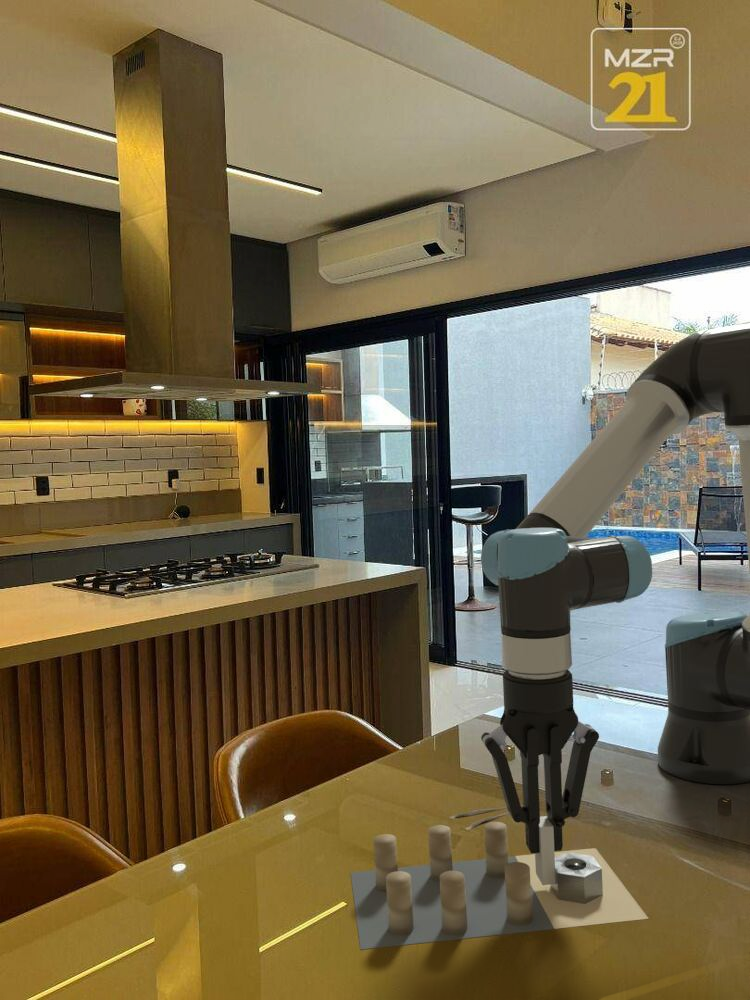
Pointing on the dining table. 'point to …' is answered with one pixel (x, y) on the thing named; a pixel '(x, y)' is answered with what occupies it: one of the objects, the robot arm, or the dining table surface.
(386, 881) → the pegs
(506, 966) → the dining table surface
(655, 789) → the dining table surface
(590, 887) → the nut
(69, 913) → the dining table surface
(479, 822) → the metal tweezers
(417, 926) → the mat
